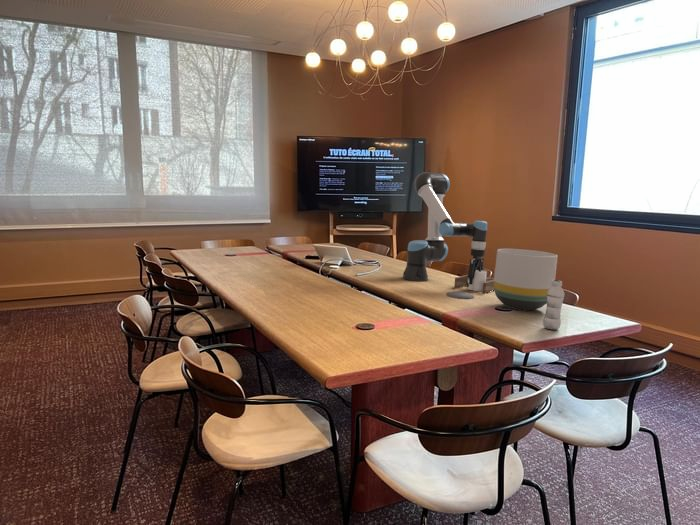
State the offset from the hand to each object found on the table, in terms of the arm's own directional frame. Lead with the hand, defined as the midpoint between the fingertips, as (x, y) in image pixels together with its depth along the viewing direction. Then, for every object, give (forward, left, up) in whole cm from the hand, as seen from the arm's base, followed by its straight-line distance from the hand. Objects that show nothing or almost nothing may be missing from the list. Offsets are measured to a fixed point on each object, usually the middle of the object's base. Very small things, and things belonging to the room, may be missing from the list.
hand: (474, 288), depth 264 cm
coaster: (+2, -23, 0) cm, 23 cm away
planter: (+34, -25, -1) cm, 42 cm away
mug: (0, +1, -1) cm, 1 cm away
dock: (0, +2, 0) cm, 3 cm away
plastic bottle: (+55, -52, -1) cm, 76 cm away
